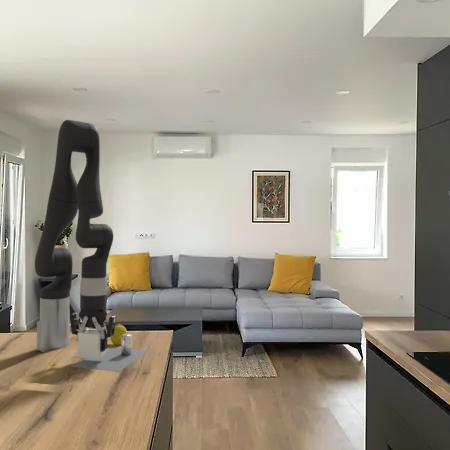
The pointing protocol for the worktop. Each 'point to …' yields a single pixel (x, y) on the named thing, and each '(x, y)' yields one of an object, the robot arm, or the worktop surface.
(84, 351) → the duct collar
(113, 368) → the duct base
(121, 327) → the lemon
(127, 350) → the silver metal capsule
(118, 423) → the worktop surface
